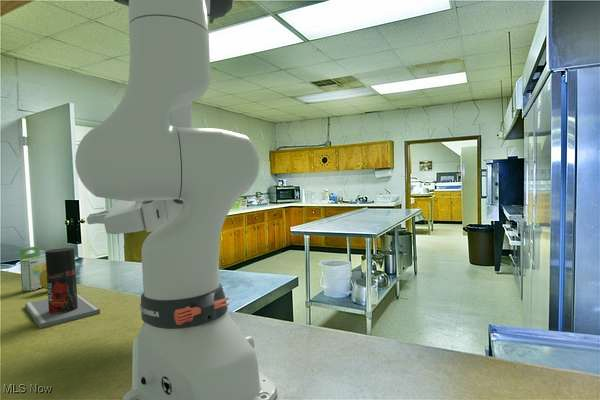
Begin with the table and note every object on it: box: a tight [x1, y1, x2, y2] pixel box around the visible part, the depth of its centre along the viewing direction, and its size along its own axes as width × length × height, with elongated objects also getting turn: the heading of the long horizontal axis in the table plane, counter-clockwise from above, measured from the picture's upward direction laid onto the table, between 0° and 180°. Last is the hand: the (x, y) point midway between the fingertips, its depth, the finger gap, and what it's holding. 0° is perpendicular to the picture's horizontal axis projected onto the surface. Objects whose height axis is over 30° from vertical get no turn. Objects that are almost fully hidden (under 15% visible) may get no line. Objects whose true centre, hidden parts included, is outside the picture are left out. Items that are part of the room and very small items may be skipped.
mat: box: [24, 292, 101, 329], centre depth 88 cm, size 22×12×1 cm, turn 46°
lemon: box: [40, 268, 48, 290], centre depth 106 cm, size 6×6×8 cm
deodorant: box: [44, 247, 78, 314], centre depth 85 cm, size 6×6×15 cm
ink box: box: [19, 245, 46, 292], centre depth 110 cm, size 7×4×13 cm, turn 168°
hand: (88, 219), depth 78 cm, fingers closed
